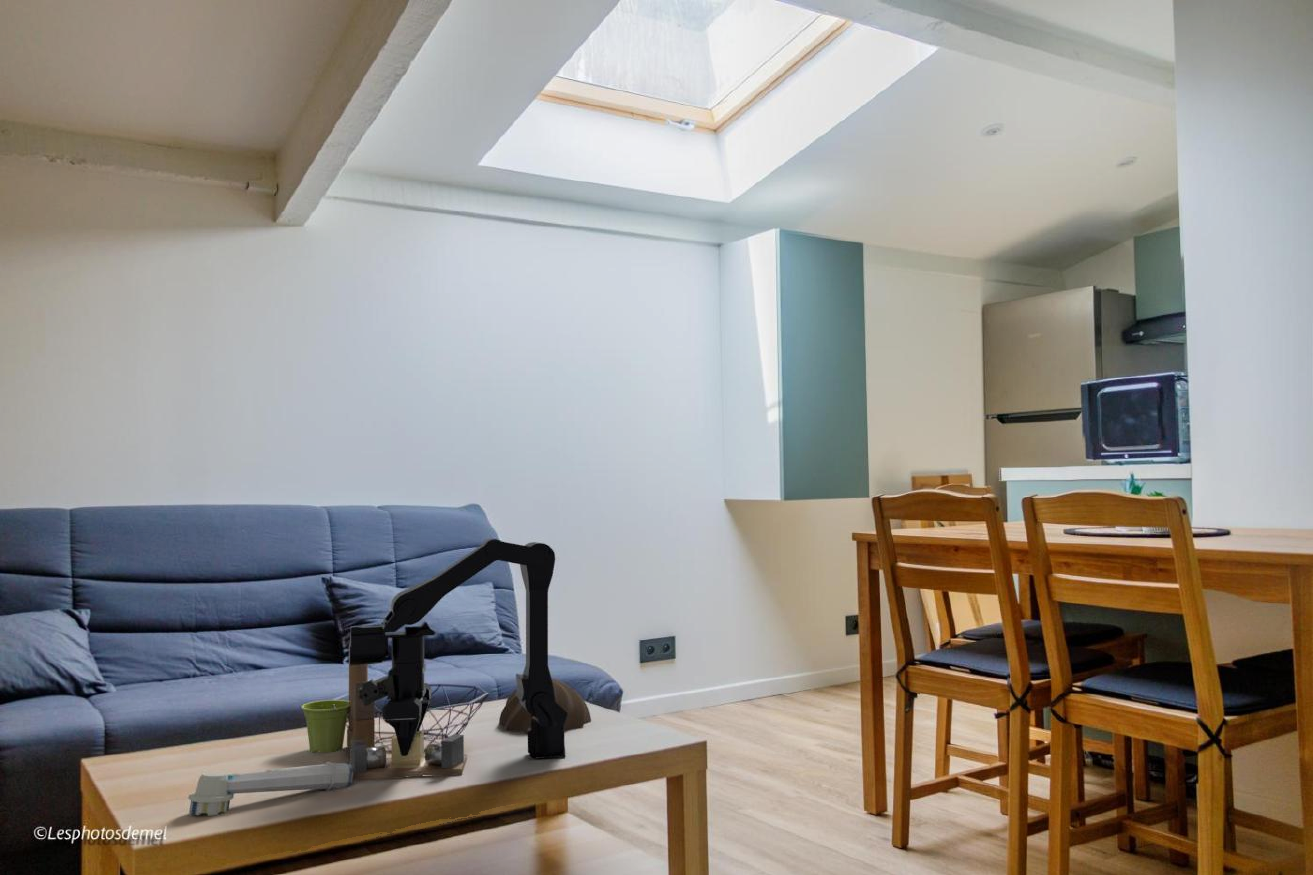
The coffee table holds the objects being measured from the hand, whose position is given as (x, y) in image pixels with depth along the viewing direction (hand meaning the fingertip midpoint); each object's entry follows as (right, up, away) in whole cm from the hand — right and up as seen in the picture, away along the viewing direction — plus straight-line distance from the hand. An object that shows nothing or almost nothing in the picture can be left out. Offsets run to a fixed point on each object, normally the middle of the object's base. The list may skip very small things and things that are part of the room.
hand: (408, 749), depth 173 cm
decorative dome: (+21, -6, +34) cm, 41 cm away
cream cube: (0, -2, 0) cm, 2 cm away
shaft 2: (+7, -2, -2) cm, 7 cm away
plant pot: (-20, -5, +15) cm, 25 cm away
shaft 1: (-6, -2, -3) cm, 7 cm away
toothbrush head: (-18, -3, -17) cm, 25 cm away
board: (0, -3, -1) cm, 4 cm away
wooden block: (-13, -5, +13) cm, 19 cm away
